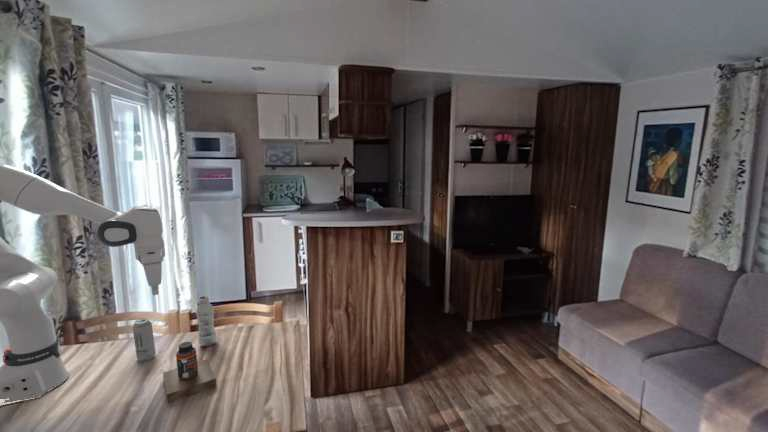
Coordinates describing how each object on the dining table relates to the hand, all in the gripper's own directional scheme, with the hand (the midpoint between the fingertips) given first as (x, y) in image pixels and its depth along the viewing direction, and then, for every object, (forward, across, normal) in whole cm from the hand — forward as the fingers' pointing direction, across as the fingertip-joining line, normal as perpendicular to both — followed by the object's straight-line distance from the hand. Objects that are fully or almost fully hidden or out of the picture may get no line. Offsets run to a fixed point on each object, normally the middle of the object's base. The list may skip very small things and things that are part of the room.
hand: (154, 290), depth 132 cm
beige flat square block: (+29, +19, +6) cm, 35 cm away
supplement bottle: (+26, +19, +6) cm, 32 cm away
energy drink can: (+29, -8, -5) cm, 31 cm away
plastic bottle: (+29, -5, +16) cm, 33 cm away
